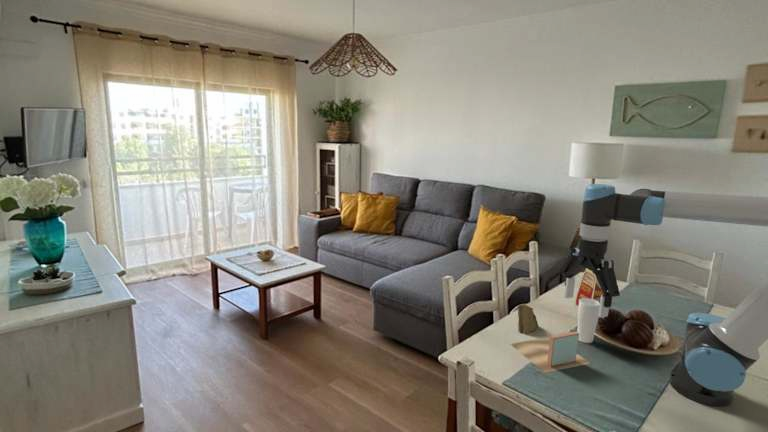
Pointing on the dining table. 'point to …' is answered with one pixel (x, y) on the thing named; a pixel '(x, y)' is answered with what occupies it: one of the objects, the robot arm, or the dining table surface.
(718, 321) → the robot arm
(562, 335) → the tile
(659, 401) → the dining table surface
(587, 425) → the dining table surface
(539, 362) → the mat
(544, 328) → the dining table surface
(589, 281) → the milk carton
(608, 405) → the dining table surface
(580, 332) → the drinking glass
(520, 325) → the rock
